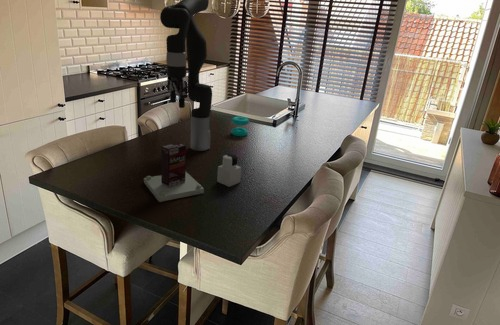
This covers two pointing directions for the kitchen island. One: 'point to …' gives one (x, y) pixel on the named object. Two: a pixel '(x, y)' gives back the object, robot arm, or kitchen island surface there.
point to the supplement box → (173, 164)
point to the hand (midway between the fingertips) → (177, 104)
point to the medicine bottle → (229, 171)
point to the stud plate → (173, 188)
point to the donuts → (239, 130)
